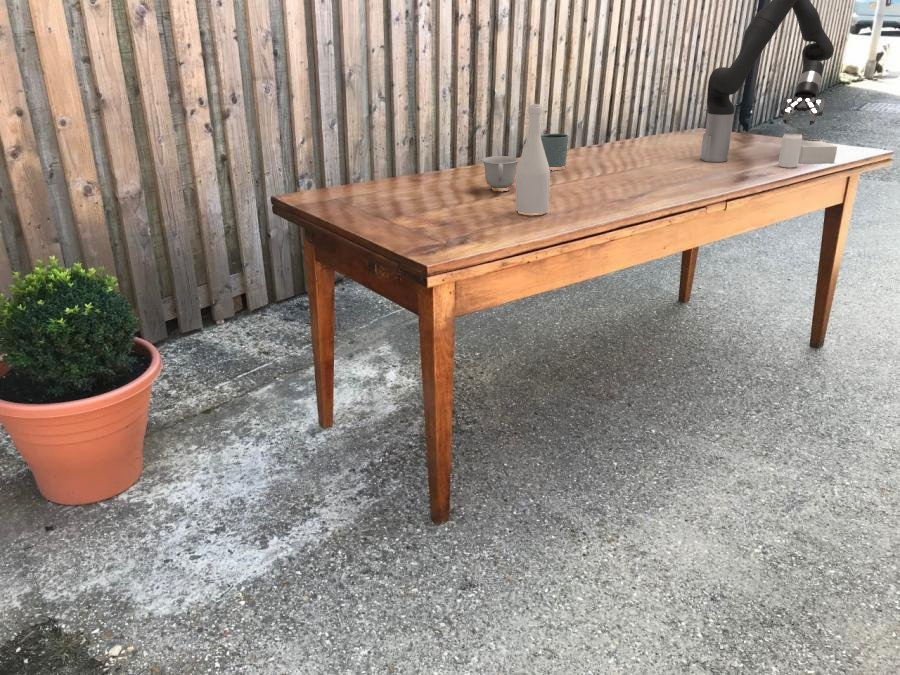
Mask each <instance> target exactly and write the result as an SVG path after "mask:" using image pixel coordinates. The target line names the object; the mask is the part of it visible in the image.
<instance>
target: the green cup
mask: <svg viewBox="0 0 900 675" xmlns="http://www.w3.org/2000/svg"><path fill="white" fill-rule="evenodd" d="M540 135H541V141H542V144H543V148H544V151H545V155H546V158H547V162H548V165H549V167H562V166H565V165H566V164H567V162H566V161H567V155H568V154H567V153H568V144H569V143H568V142H569V135H568V134H567V133H566V134H565V133H545V134H540ZM565 167H566V166H565Z"/></svg>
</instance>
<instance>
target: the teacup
mask: <svg viewBox="0 0 900 675" xmlns="http://www.w3.org/2000/svg"><path fill="white" fill-rule="evenodd" d="M481 161H482V163H483V168H484V175H485V180H486V183H487V185H488V186H490V187H491V188H492V187H493V188H507V187H511V186H512V185H513V184H514V182H515V180H516V170H517V167H518V164H519V161H520V158H517V157H515V156H508V155H507V156H506V155H505V156H504V155H495V156H486V157H484V158H482V159H481Z"/></svg>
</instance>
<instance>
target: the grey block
mask: <svg viewBox="0 0 900 675" xmlns="http://www.w3.org/2000/svg"><path fill="white" fill-rule="evenodd" d="M837 151H838V145H835V144H832V143H828V142H825V141H823V140H819V141H818V140H817V141H816V140H815V141H810V140H808V141H802V143H801V149H800V155H799V160H798V164H801V163H804V164H803V165H805V164H834V163H835V160H836V155H837Z"/></svg>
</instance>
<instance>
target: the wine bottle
mask: <svg viewBox="0 0 900 675" xmlns="http://www.w3.org/2000/svg"><path fill="white" fill-rule="evenodd" d="M542 109H543V108H542V105H541V104H540V103H530V104H529V105H528V107H527V113H528V127H527V128H528V129H527V138H526V141H525V144H524V147H523V150H522V153H521V154H520V158H519V161H518V163H517V166H516V173H515V211H516V210H517V211H519V212H524V213H541V212H546V211H548V212H549V209H550V208H549V207H550V206H549V205H550V188H551V185H550V181H551V171H550V169H549V165H548V162H547V158H546V155H545V151H544V148H543V144H542V141H541V135H542V134H541V119H542V118H541V114H542Z"/></svg>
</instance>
